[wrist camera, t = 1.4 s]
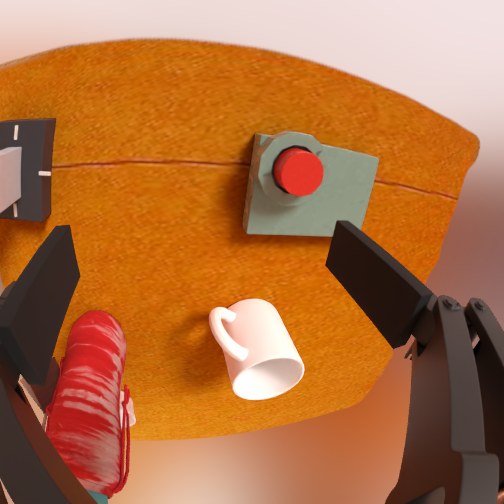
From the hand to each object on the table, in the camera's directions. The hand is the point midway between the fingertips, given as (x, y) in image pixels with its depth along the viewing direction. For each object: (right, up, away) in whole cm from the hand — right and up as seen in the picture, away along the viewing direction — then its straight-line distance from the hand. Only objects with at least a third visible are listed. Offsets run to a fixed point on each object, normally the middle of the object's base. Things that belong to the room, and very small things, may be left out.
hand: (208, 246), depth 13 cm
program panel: (-21, +9, +8) cm, 24 cm away
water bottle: (-19, -10, +19) cm, 29 cm away
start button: (+6, +7, +12) cm, 15 cm away
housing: (+8, +7, +17) cm, 20 cm away
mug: (0, -8, +24) cm, 25 cm away
